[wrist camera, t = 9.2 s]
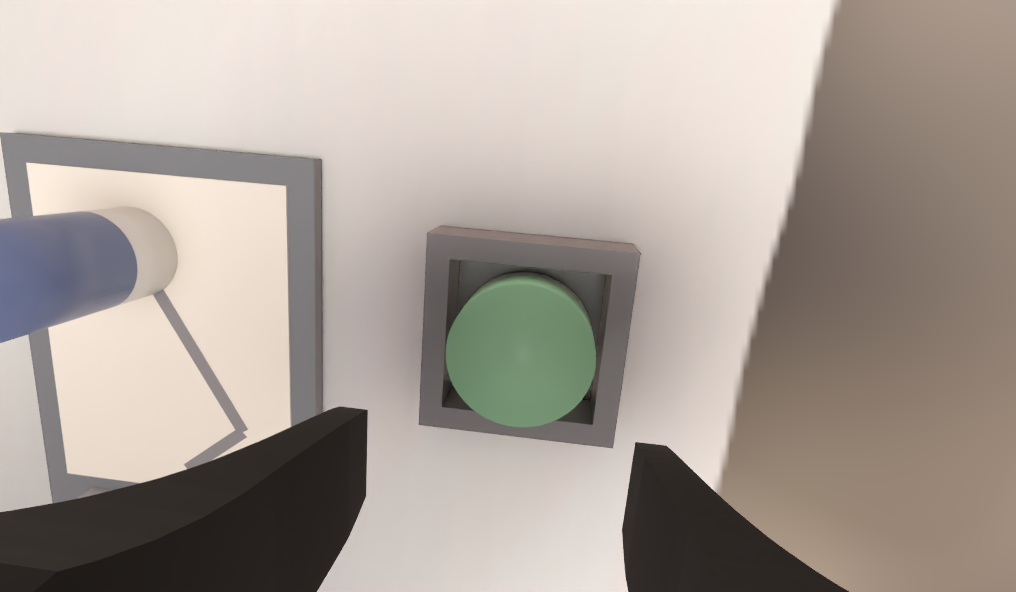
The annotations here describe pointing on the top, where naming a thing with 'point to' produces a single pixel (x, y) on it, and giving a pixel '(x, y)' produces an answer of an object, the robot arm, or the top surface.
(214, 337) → the clipboard
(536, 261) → the button housing
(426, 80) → the top surface
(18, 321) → the marker
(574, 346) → the button
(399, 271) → the top surface
